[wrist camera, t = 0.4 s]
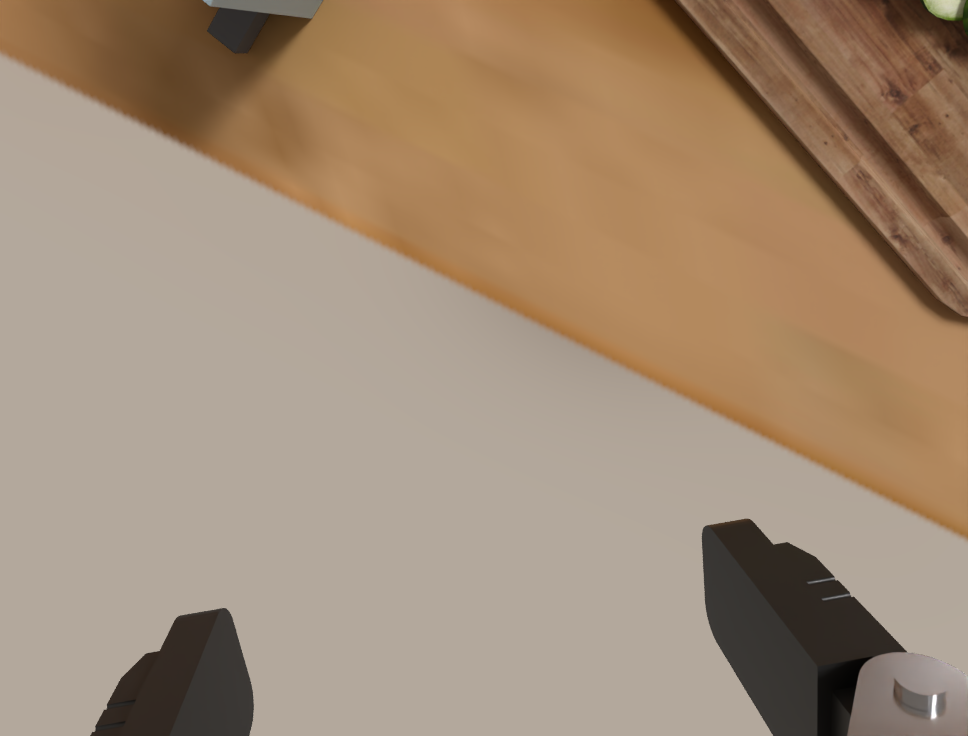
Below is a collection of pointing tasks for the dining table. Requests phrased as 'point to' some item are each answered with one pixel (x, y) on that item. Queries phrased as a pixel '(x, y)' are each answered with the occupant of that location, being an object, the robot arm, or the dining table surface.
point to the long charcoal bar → (237, 28)
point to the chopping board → (869, 110)
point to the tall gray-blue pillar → (271, 6)
